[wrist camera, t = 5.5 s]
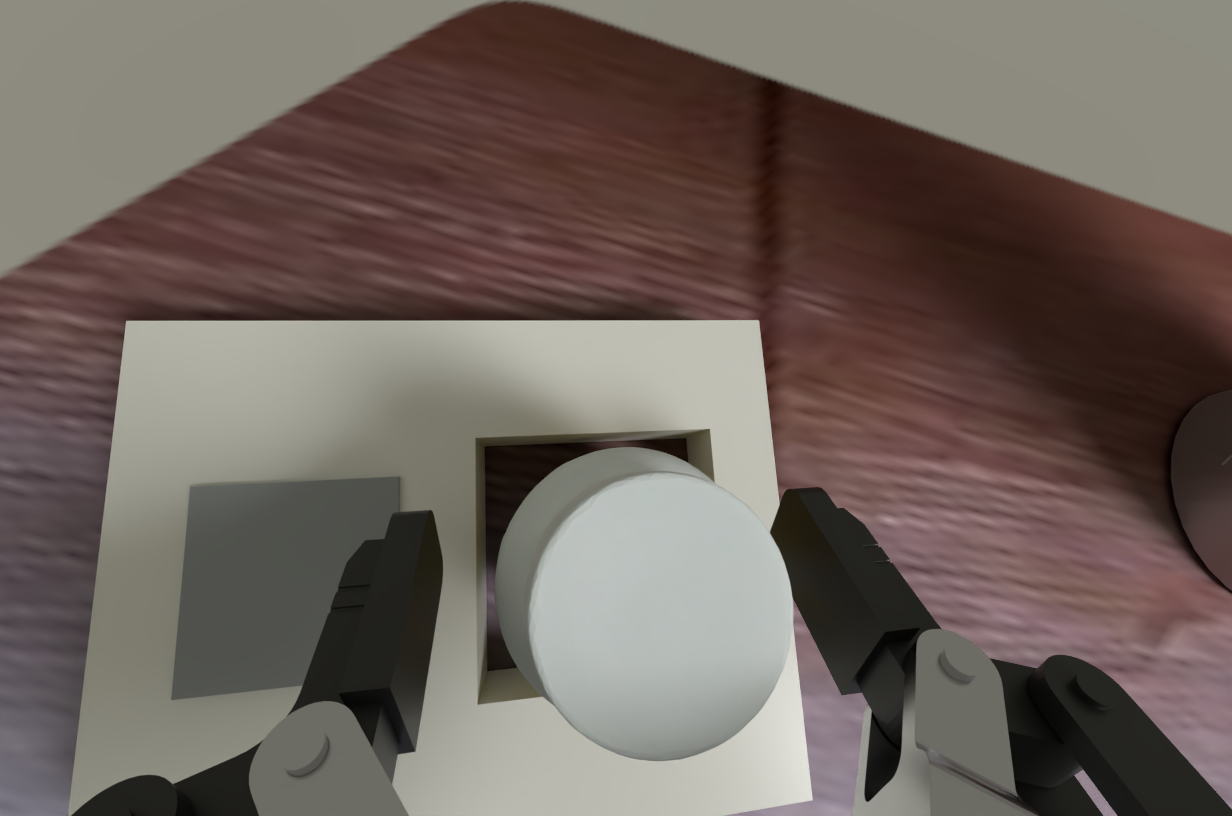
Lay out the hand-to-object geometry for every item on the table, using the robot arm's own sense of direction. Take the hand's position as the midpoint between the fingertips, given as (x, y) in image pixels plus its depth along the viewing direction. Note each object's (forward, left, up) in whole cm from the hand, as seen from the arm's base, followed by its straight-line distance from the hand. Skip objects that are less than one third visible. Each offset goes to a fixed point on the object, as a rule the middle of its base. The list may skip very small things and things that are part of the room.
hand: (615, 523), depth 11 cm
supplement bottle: (0, +1, -6) cm, 6 cm away
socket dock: (+3, +1, -5) cm, 7 cm away
